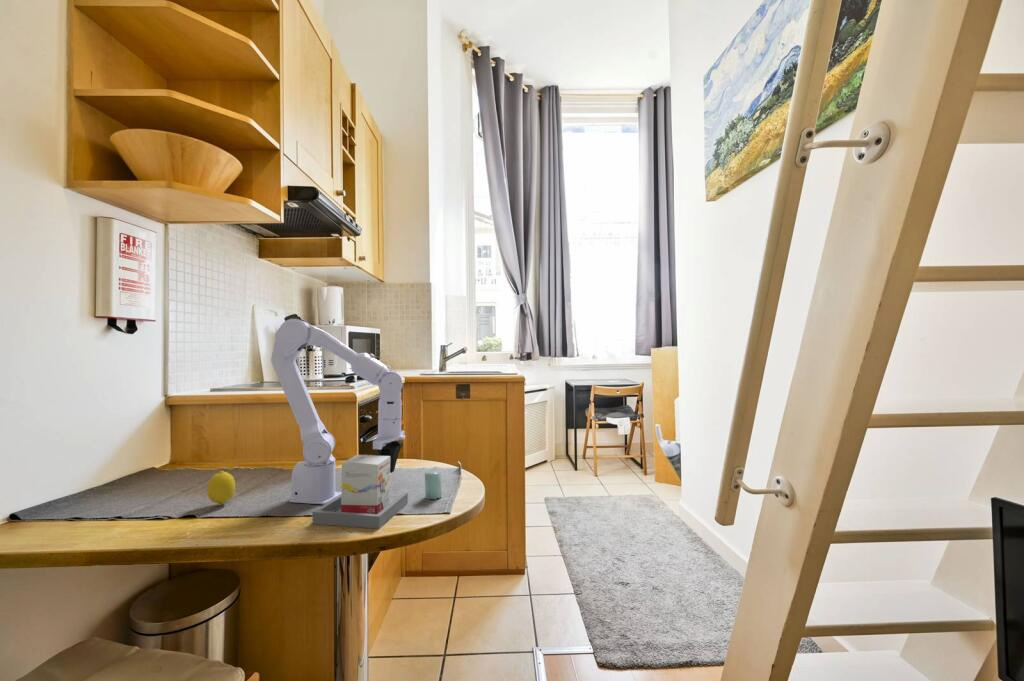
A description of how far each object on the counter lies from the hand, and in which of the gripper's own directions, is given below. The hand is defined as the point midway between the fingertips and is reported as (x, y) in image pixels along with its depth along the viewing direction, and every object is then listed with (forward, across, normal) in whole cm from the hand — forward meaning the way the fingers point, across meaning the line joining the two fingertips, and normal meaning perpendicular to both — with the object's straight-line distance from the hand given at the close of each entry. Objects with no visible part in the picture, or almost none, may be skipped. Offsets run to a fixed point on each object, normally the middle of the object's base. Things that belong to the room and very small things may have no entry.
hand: (389, 471), depth 117 cm
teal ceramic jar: (+5, -1, -12) cm, 13 cm away
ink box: (+6, -12, 0) cm, 13 cm away
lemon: (+6, -15, +35) cm, 38 cm away
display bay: (+5, -14, 0) cm, 15 cm away
